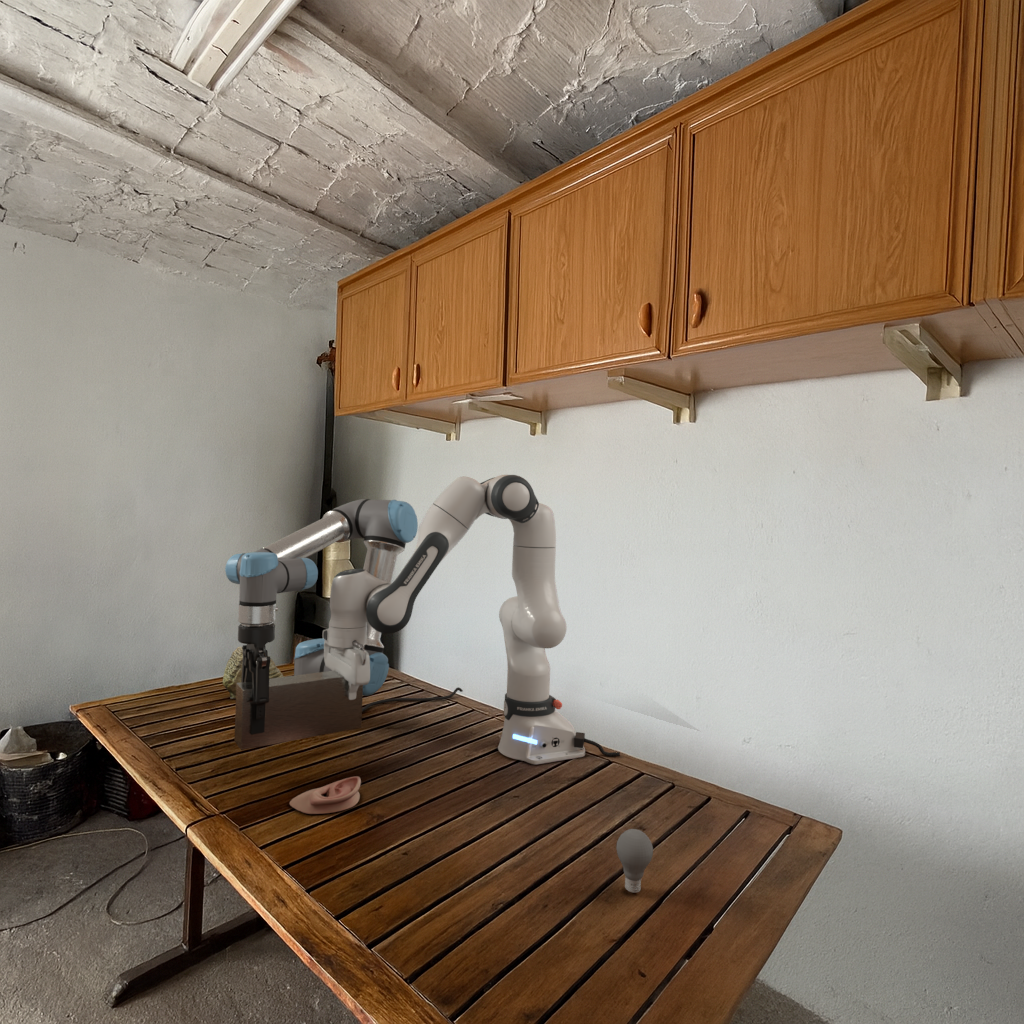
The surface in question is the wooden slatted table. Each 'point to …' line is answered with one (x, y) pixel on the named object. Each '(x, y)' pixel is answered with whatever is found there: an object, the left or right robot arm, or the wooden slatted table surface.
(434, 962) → the wooden slatted table surface
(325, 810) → the anatomical model
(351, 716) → the box
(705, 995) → the wooden slatted table surface
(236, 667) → the fossil
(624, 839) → the light bulb
